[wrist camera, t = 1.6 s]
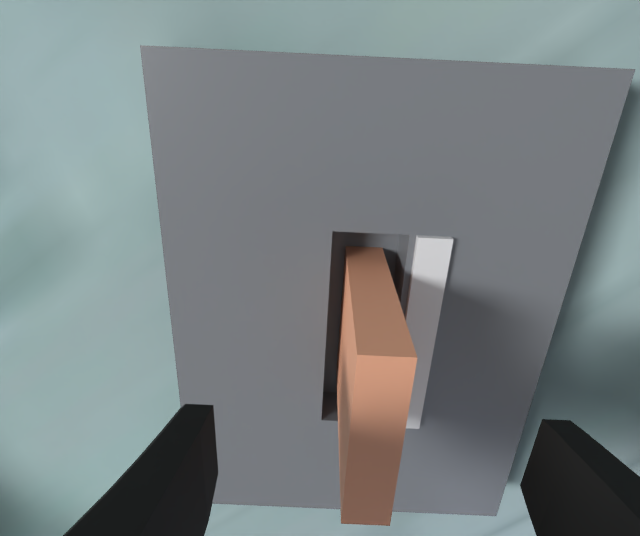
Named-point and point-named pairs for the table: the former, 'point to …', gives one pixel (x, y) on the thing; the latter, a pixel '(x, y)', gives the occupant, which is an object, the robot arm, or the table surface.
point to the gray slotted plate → (369, 231)
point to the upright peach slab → (371, 387)
